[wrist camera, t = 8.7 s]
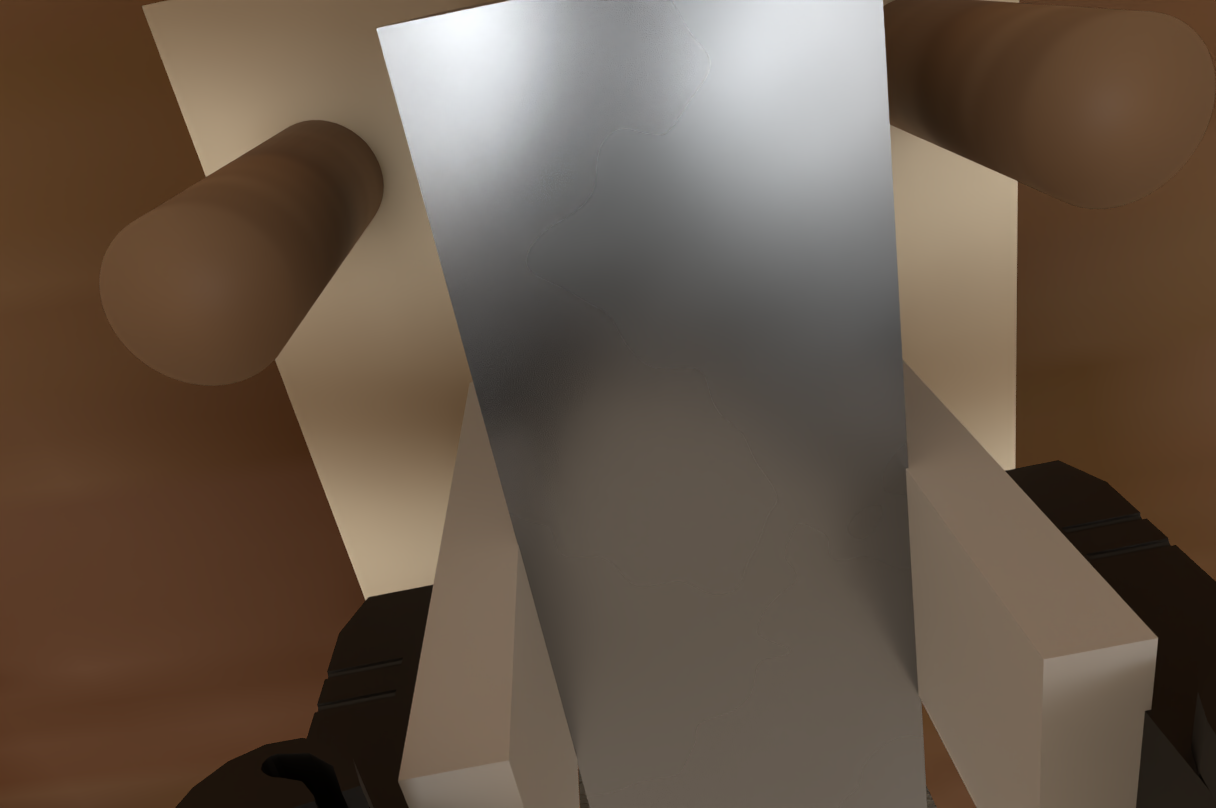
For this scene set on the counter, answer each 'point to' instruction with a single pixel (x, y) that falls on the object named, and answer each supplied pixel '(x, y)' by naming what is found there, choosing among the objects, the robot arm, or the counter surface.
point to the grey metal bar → (688, 377)
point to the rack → (410, 266)
